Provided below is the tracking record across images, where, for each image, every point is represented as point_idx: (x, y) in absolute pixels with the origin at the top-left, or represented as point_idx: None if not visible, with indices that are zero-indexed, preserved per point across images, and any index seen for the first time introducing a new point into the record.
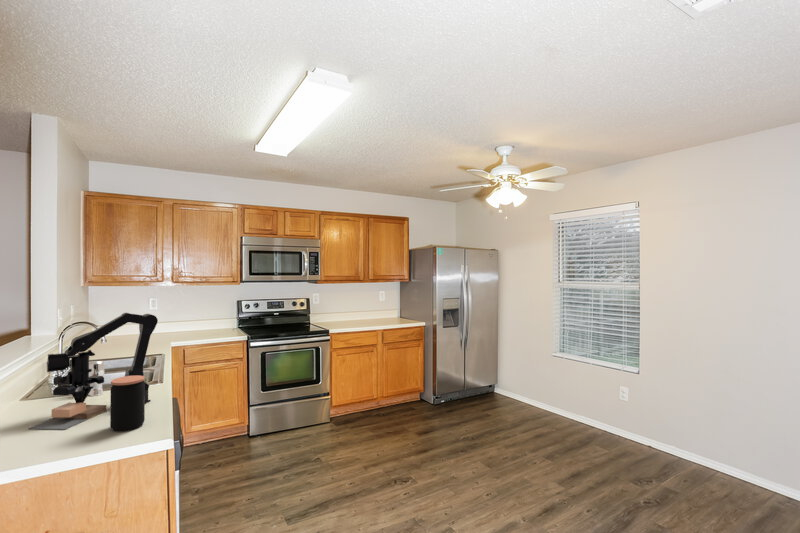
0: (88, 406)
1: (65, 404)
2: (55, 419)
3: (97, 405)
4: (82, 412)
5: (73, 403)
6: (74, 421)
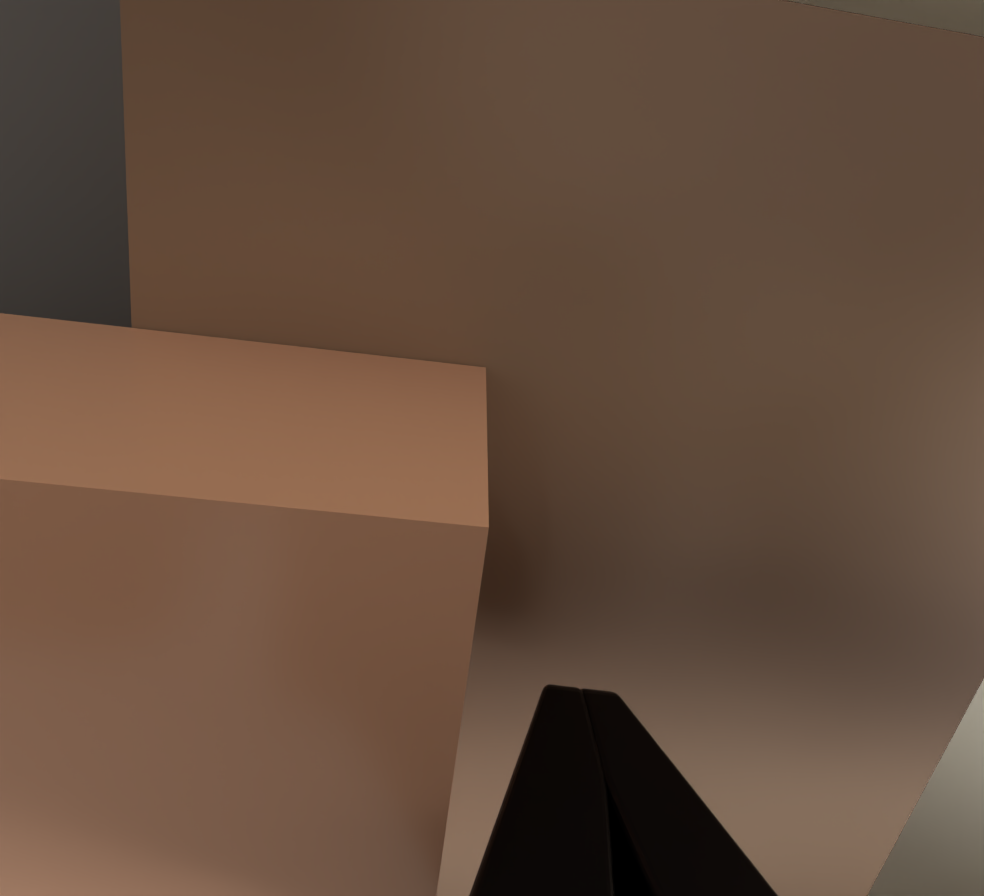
0: (791, 738)
1: (147, 558)
2: (93, 127)
3: (820, 893)
4: None
5: (320, 804)
6: None
